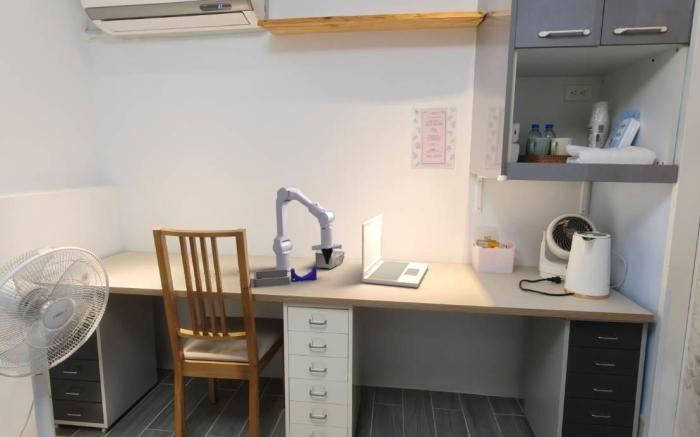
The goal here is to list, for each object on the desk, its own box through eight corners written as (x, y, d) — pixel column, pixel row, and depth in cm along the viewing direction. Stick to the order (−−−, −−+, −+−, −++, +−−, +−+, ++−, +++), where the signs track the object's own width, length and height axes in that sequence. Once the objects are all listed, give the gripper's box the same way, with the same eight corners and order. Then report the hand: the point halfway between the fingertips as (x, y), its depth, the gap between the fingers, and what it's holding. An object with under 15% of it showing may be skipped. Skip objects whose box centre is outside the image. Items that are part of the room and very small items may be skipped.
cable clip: (314, 277, 196) (314, 265, 195) (316, 280, 192) (316, 268, 191) (290, 279, 193) (290, 267, 192) (291, 282, 189) (291, 270, 188)
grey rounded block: (312, 249, 208) (323, 242, 228) (313, 269, 210) (324, 260, 229) (336, 250, 206) (345, 243, 225) (336, 270, 207) (346, 262, 226)
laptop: (417, 289, 178) (418, 226, 174) (361, 283, 187) (361, 224, 182) (428, 268, 211) (429, 215, 207) (379, 264, 219) (380, 214, 215)
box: (254, 278, 195) (253, 271, 194) (287, 275, 198) (287, 269, 198) (254, 287, 181) (253, 279, 181) (289, 284, 185) (289, 277, 184)
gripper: (312, 238, 188) (313, 266, 190) (342, 237, 191) (343, 264, 193) (310, 236, 194) (311, 263, 196) (339, 234, 198) (340, 261, 200)
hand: (327, 263), depth 195 cm, fingers closed
